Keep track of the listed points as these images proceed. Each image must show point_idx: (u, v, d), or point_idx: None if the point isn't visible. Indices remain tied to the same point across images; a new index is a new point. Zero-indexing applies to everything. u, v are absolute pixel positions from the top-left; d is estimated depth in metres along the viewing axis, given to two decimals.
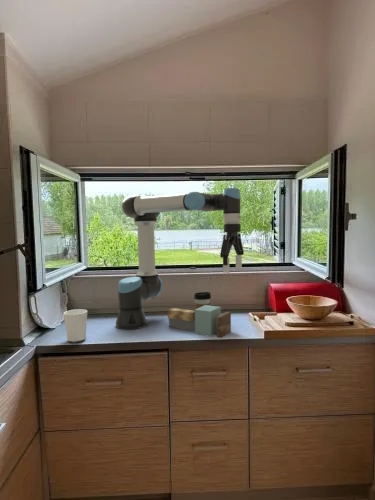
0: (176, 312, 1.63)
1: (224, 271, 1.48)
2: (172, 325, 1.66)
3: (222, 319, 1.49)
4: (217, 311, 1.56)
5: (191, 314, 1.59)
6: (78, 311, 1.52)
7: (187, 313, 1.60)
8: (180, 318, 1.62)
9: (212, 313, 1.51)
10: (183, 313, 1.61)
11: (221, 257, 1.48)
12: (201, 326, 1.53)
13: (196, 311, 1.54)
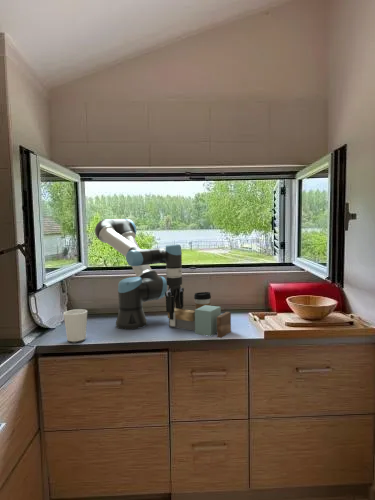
0: (176, 312, 1.63)
1: (171, 324, 1.64)
2: None
3: (222, 319, 1.49)
4: (217, 311, 1.56)
5: (191, 314, 1.59)
6: (78, 311, 1.52)
7: (187, 313, 1.60)
8: (180, 318, 1.62)
9: (212, 313, 1.51)
10: (183, 313, 1.61)
11: None
12: (201, 326, 1.53)
13: (196, 311, 1.54)
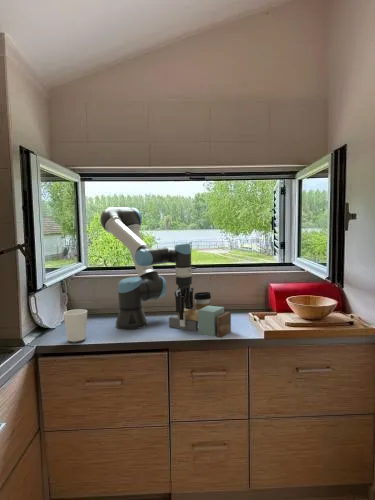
0: (186, 312, 1.60)
1: (181, 325, 1.61)
2: (172, 325, 1.66)
3: (222, 319, 1.49)
4: (220, 311, 1.55)
5: None
6: (78, 311, 1.52)
7: (197, 313, 1.57)
8: (190, 318, 1.59)
9: (215, 313, 1.51)
10: (193, 313, 1.58)
11: (178, 312, 1.61)
12: (204, 327, 1.52)
13: (199, 311, 1.53)
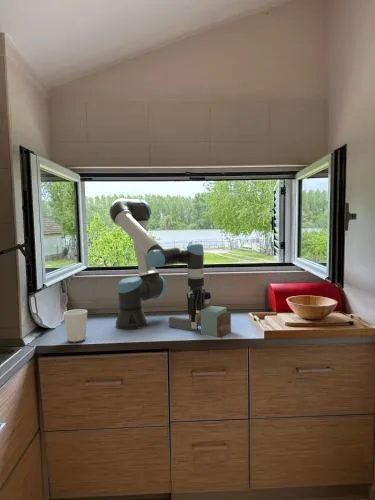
0: (198, 314, 1.57)
1: (192, 327, 1.58)
2: (172, 325, 1.66)
3: (222, 319, 1.49)
4: (223, 312, 1.54)
5: None
6: (78, 311, 1.52)
7: None
8: None
9: (218, 314, 1.50)
10: None
11: (190, 314, 1.58)
12: (207, 327, 1.51)
13: (202, 312, 1.52)
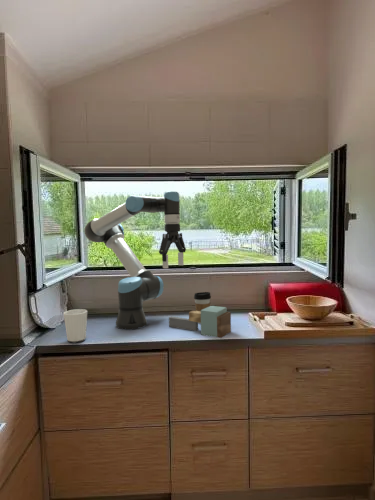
0: (198, 315, 1.57)
1: (163, 267, 1.64)
2: (172, 325, 1.66)
3: (222, 319, 1.49)
4: (223, 312, 1.54)
5: None
6: (78, 311, 1.52)
7: None
8: None
9: (218, 314, 1.50)
10: None
11: (160, 254, 1.63)
12: (207, 327, 1.51)
13: (202, 312, 1.52)
